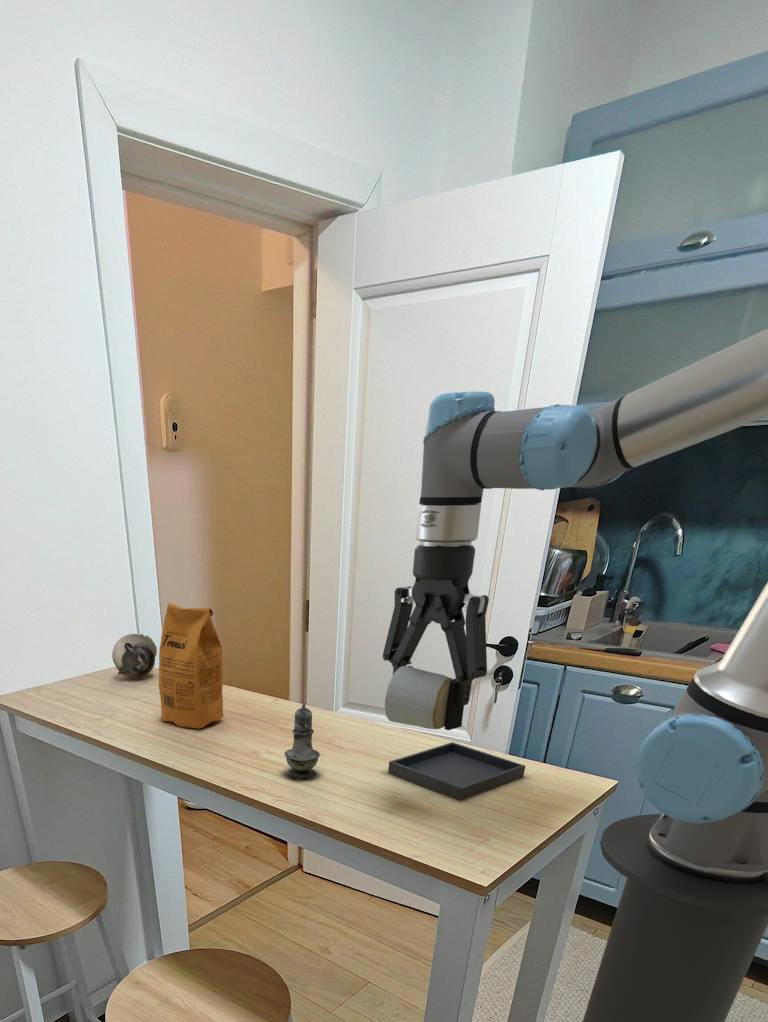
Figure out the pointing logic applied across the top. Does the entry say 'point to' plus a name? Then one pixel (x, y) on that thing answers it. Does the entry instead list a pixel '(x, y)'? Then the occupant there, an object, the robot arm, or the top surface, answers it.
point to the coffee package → (190, 668)
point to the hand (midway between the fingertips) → (425, 720)
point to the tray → (456, 770)
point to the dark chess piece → (302, 748)
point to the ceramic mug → (417, 698)
